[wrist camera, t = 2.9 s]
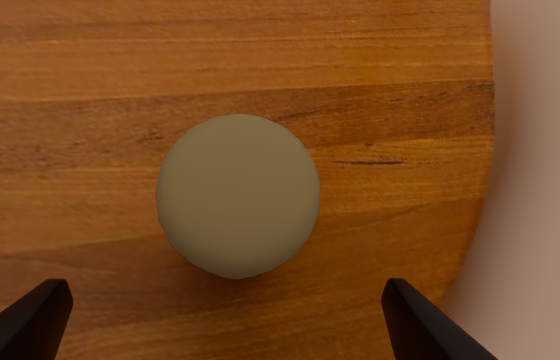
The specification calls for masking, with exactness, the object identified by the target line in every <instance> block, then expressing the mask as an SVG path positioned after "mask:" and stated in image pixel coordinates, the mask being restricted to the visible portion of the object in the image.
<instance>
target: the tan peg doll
mask: <svg viewBox="0 0 560 360" xmlns="http://www.w3.org/2000/svg"><path fill="white" fill-rule="evenodd" d="M319 200H320V183H319V179H318V175H317V171H316V167H315V163H314V161H313V160H312V158H311V156H310V155H309V153H308V152H307V150H306V148H305V147H304V145H303V143H302V142H301V141H299V140H298V139H297V138H296V137H295V136H294V135H293V134H292V133H290V132H289V131H288V130H287V129H286V128H285V127H283V126H281V125H279V124H276V123H274V122H272V121H270V120H268V119H266V118H264V117H258V116H252V115H245V114H232V115H225V116H217V117H213V118H211V119H209V120H207V121H205V122H202V123H200V124H198V125H196V126H194V127H192V128H191V129H190V130H189V131H187V132H186V133H185V134H184V135H183V136H182V137H181V138H180V139H178V140H177V141H176V142H175V143H174V144H173V146H172V148H171V149H170V151H169V153H168V154H167V156H166V158H165V159H164V161H163V163H162V165H161V168H160V173H159V177H158V182H157V187H156V202H157V210H158V218H159V222H160V224H161V226H162V228H163V230H164V232H165V234H166V236H167V238H168V240H169V242H170V244H171V245H172V246H173V247H174V248H175V249H176V250H177V251H178V252H179V253H180V254H181V255H183V256H184V257H185V258H186V259H187V260H188V261H189V262H190V263H191V264H193V265H196V266H198V267H200V268H202V269H204V270H206V271H209V272H211V273H213V274H215V275H218V276H220V277H222V278H231V279H243V278H248V277H252V276H256V275H258V274H260V273H265V272H269V271H271V270H273V269H274V268H276V267H278V266H279V265H281V264H283V263H284V262H286V261H288V260H289V259H291V258H292V257H293V256H294V255H295V254H296V253H297V251H298V250H299V249H300V248H301V247H302V246H303V244H304V243H305V242H306V241H307V240H308V239H309V237H310V234H311V232H312V229H313V227H314V224H315V222H316V220H317V217H318V214H319Z"/></svg>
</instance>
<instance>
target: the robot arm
mask: <svg viewBox="0 0 560 360" xmlns="http://www.w3.org/2000/svg"><path fill="white" fill-rule="evenodd" d="M381 303H382V308H383V312H384V316H385V320H386V324H387V328H388V332H389V336H390V340H391V344H392V348H393V352H394V356H395V359H396V360H498V359H497V358H496V357H494V356H493V355H492V354H491V353H490V352H488V351H487V350H486V349H485V348H484V347H483V346H481V345H480V344H479V343H478V342H477V341H476V340H475V339H473V338H472V337H471V336H470V335H469V334H468V333H466V332H465V331H464V330H463V329H462V328H461V327H459V326H458V325H457V324H456V323H455V322H453V321H452V320H451V319H450V318H449V317H448V316H446V315H445V314H444V313H443V312H442V311H441V310H440V309H438V308H437V307H436V306H435V305H434V304H433V303H431V302H430V301H429V300H428V299H427V298H426V297H424V296H423V295H422V294H421V293H420V292H418V291H417V290H416V289H415V288H414V287H413V286H411V285H410V284H409V283H408V282H407V281H406V280H404V279H403V278H389V279H388V281H387V283H386V286H385V288H384V291H383V294H382V297H381ZM72 307H73V298H72V295H71V292H70V289H69V286H68V283H67V281H66V280H65V279H47V280H45V281H44V282H42V283H41V284H40V285H38V286H37V287H35V288H34V289H33V290H31V291H30V292H28V293H27V294H26V295H24V296H23V297H21V298H20V299H19V300H17V301H16V302H14V303H13V304H12V305H10V306H9V307H8V308H6V309H5V310H3V311H2V312H1V313H0V360H55V357H56V354H57V351H58V348H59V345H60V342H61V339H62V337H63V334H64V331H65V328H66V325H67V322H68V319H69V316H70V313H71V310H72Z"/></svg>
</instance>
